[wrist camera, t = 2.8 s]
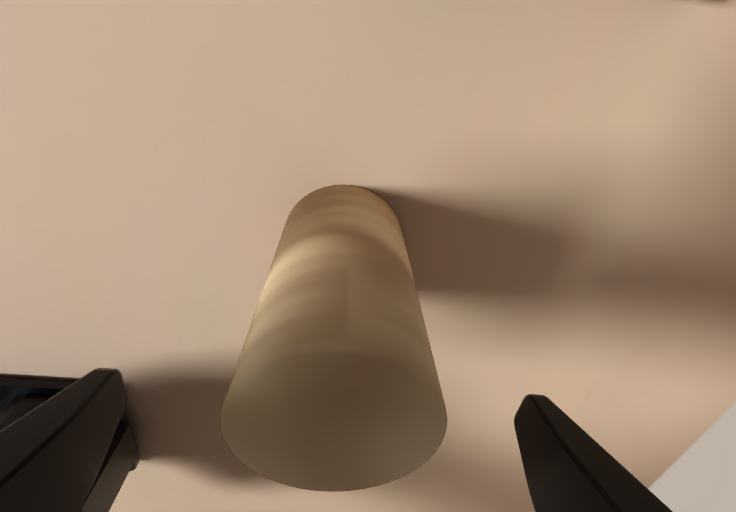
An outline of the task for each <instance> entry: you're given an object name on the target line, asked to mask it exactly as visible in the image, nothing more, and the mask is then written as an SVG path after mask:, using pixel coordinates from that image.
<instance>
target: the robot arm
mask: <svg viewBox="0 0 736 512" xmlns="http://www.w3.org/2000/svg"><path fill="white" fill-rule="evenodd" d="M126 402H127V393H126V389H125V385H124V382H123V378H122V375H121V372H120V371H119V370H118V369H110V368H98V369H95V370H93V371H91V372H90V373H88V374H87V375H85V376H84V377H82V378H81V379H79V380H78V381H76V382H63V381H46V380H29V379H13V378H0V512H109V510H110V508H111V506H112V504H113V502H114V500H115V498H116V496H117V494H118V492H119V490H120V488H121V486H122V484H123V482H124V480H125V478H126V476H127V474H128V472H129V471H132V470H134V469H135V468H136V467H137V465H138V463H139V456H138V451H137V448H136V444H135V441H134V437H133V434H132V431H131V427H130V425H129V422H128V419H127V415H126V412H125V409H124V408H125V406H126ZM514 426H515V431H516V435H517V440H518V444H519V449H520V453H521V457H522V462H523V466H524V471H525V475H526V480H527V484H528V488H529V492H530V496H531V499H532V502H533V505H534V508H535V512H672V511H671V510H670V509H669V508H668V507H667V506H666V505H665V504H663V503H662V502H661V501H660V500H659V499H658V498H657V497H656V496H655V495H654V494H653V493H651V492H650V491H649V490H648V489H647V488H646V487H645V486H644V485H643V484H642V483H641V482H640V481H638V480H637V479H636V478H635V477H634V476H633V475H632V474H631V473H630V472H629V471H628V470H626V469H625V468H624V467H623V466H622V465H621V464H620V463H619V462H618V461H617V460H615V459H614V458H613V457H612V456H611V455H610V454H609V453H608V452H607V451H606V450H604V449H603V448H602V447H601V446H600V445H599V444H598V443H597V442H596V441H595V440H594V439H592V438H591V437H590V436H589V435H588V434H587V433H586V432H585V431H584V430H583V429H581V428H580V427H579V426H578V425H577V424H576V423H575V422H574V421H573V420H572V419H571V418H569V417H568V416H567V415H566V414H565V413H564V412H563V411H562V410H561V409H560V408H558V407H557V406H556V405H555V404H554V403H553V402H552V401H551V400H550V399H549V398H547V397H546V396H544V395H534V394H528V395H526V396H525V397H524V399H523V401H522V403H521V405H520V407H519V409H518V411H517V413H516V415H515V419H514Z"/></svg>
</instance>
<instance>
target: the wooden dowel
mask: <svg viewBox="0 0 736 512" xmlns="http://www.w3.org/2000/svg"><path fill="white" fill-rule="evenodd" d="M446 427H447V414H446V408H445V404H444V400H443V396H442V392H441V388H440V384H439V380H438V376H437V372H436V367H435V363H434V359H433V355H432V351H431V347H430V343H429V339H428V335H427V331H426V327H425V323H424V319H423V315H422V311H421V307H420V303H419V299H418V295H417V290H416V286H415V282H414V278H413V274H412V270H411V266H410V262H409V258H408V254H407V250H406V246H405V242H404V238H403V234H402V230H401V226H400V223H399V220H398V218H397V216H396V214H395V212H394V211H393V209H392V208H391V207H390V205H389V204H388V203H387V202H386V201H385V200H383V199H382V198H381V197H380V196H378V195H376V194H375V193H373V192H371V191H369V190H367V189H364V188H361V187H357V186H351V185H333V186H328V187H324V188H321V189H318V190H316V191H314V192H312V193H310V194H308V195H307V196H305V197H304V198H303V199H302V200H300V201H299V202H298V203H297V204H296V206H295V207H294V208H293V209H292V211H291V213H290V214H289V217H288V219H287V221H286V224H285V227H284V230H283V233H282V236H281V239H280V242H279V244H278V247H277V250H276V253H275V256H274V259H273V262H272V265H271V268H270V271H269V273H268V276H267V279H266V282H265V285H264V288H263V291H262V294H261V297H260V300H259V302H258V305H257V308H256V311H255V314H254V317H253V320H252V323H251V326H250V329H249V331H248V334H247V337H246V340H245V343H244V346H243V349H242V352H241V355H240V358H239V361H238V363H237V366H236V369H235V372H234V375H233V378H232V381H231V384H230V387H229V390H228V392H227V395H226V398H225V401H224V404H223V407H222V412H221V430H222V435H223V437H224V440H225V442H226V444H227V445H228V447H229V449H230V450H231V452H232V453H233V454H234V455H235V456H236V457H237V458H238V459H239V460H240V461H241V462H242V463H243V464H245V465H246V466H247V467H248V468H250V469H252V470H253V471H255V472H256V473H258V474H260V475H262V476H264V477H266V478H268V479H271V480H273V481H276V482H278V483H281V484H285V485H288V486H292V487H297V488H301V489H308V490H315V491H351V490H358V489H365V488H370V487H374V486H378V485H382V484H385V483H388V482H391V481H393V480H396V479H398V478H400V477H402V476H404V475H406V474H408V473H410V472H412V471H413V470H415V469H417V468H418V467H420V466H421V465H422V464H423V463H425V462H426V461H427V460H428V459H429V458H430V457H431V456H432V455H433V454H434V453H435V451H436V450H437V448H438V447H439V446H440V444H441V442H442V440H443V438H444V435H445V431H446Z"/></svg>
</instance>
